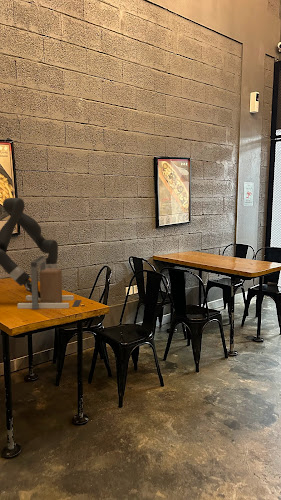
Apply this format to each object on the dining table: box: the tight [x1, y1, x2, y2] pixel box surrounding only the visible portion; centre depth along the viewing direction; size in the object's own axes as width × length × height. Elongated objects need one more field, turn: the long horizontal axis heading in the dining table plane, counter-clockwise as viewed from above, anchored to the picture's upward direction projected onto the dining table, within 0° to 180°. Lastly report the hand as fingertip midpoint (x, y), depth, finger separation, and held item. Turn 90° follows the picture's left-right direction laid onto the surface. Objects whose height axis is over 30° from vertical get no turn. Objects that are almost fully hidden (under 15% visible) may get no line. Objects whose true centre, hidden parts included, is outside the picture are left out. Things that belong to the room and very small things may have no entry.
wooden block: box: [39, 268, 63, 303], centre depth 222 cm, size 10×10×20 cm
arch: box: [30, 255, 47, 310], centre depth 222 cm, size 24×3×26 cm, turn 2°
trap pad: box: [71, 299, 82, 308], centre depth 224 cm, size 14×4×1 cm, turn 2°
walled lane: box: [17, 294, 74, 309], centre depth 224 cm, size 20×28×2 cm
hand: (41, 296), depth 223 cm, fingers closed
